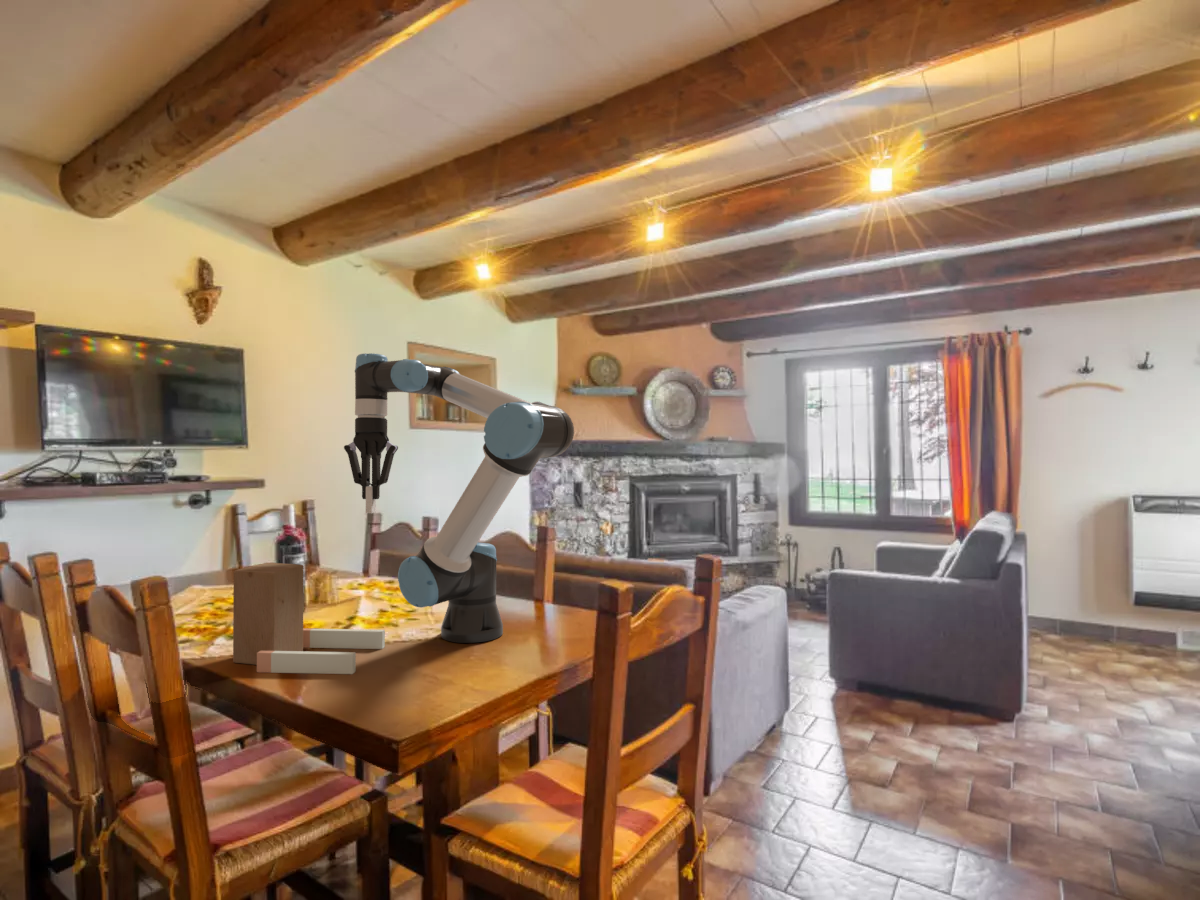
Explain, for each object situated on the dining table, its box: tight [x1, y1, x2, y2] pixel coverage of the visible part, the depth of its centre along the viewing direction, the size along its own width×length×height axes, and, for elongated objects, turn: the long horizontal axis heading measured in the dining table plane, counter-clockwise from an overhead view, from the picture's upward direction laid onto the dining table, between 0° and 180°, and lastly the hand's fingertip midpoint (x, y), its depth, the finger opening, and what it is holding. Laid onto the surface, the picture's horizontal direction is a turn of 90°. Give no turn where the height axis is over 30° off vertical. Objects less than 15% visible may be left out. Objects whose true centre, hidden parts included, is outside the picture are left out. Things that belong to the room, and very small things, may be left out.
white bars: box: [256, 627, 386, 675], centre depth 141 cm, size 20×18×4 cm
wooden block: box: [232, 562, 305, 666], centre depth 141 cm, size 10×10×20 cm
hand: (370, 512), depth 159 cm, fingers closed
